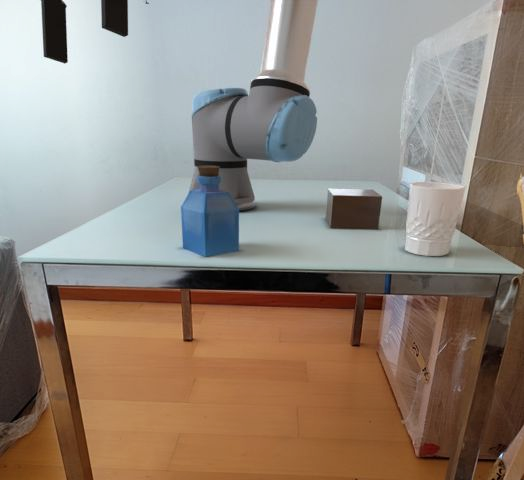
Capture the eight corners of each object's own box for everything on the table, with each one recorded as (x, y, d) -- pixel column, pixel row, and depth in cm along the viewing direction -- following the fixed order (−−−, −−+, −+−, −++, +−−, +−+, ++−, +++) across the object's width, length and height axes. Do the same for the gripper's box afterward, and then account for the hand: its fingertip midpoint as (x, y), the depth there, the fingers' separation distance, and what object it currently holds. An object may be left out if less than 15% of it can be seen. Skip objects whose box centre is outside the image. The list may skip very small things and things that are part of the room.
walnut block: (325, 219, 98) (327, 188, 95) (369, 220, 98) (373, 189, 95) (330, 228, 90) (333, 195, 87) (378, 229, 90) (382, 196, 87)
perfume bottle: (183, 248, 74) (178, 165, 69) (215, 242, 78) (214, 163, 72) (205, 256, 70) (202, 169, 64) (238, 250, 73) (238, 167, 68)
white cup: (462, 256, 73) (476, 188, 69) (415, 258, 72) (426, 189, 67) (435, 244, 80) (447, 181, 75) (392, 245, 78) (401, 181, 74)
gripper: (-6, -140, 56) (6, 59, 60) (107, -285, 40) (112, 1, 44) (56, -103, 62) (63, 77, 66) (178, -218, 45) (176, 30, 50)
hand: (83, 47), depth 55 cm, fingers open, 13 cm apart
